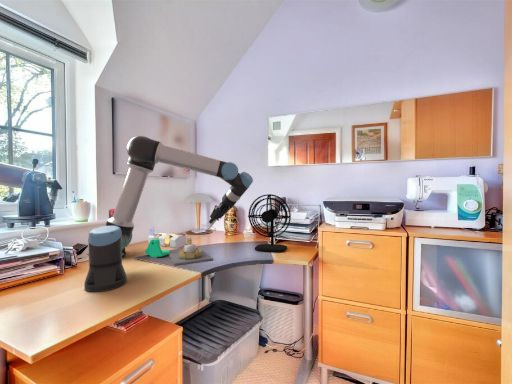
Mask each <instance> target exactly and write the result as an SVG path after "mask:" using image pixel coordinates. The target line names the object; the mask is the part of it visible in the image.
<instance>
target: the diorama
mask: <svg viewBox="0 0 512 384" xmlns="http://www.w3.org/2000/svg"><path fill="white" fill-rule="evenodd" d="M148 235H149V236H148V237H147V243H148V244H149V243H150V241H151V240H153V239H155V237H157V235H158V236H159V237H158V239H159V240H160V245H159V246H160V247H162V248H163V247H164V248H166V247H167V246H166V244H168V245H169V247H170V248H172V249H179V248H184V246H185V245H187V236H186V235H182V234H173V233H165V232H155V227H154V226H152V227H151V228H150V229H149V234H148Z"/></svg>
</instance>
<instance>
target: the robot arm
mask: <svg viewBox="0 0 512 384" xmlns="http://www.w3.org/2000/svg"><path fill="white" fill-rule="evenodd" d="M126 152H127V156H128V159H127V163H126V164H127V165H128V170H127V174H126V177H125V179H124V181H123V182H124V183H123V186H122V187H121V191H120V192H119V193H120V194H119V197H118V200H117V203H116V206H115V208H114V209H115V211H114V214H113V217H112V218H110V219H109V218H108V219H107V221H106V223H105V225H103V226H99V227H95V228H93V229H91V230H90V231H89V232H88V238H87V242H88V272H87V275H86V277H85V280H84V288H83V289H84V290H85V291H87V292H91V293H92V292H93V293H94V292H97V293H98V292H105V291H111V290H114V289H117V288H120V287H122V286H124V285H126V283H127V282H128V276H127V273H126V269H125V268H124V266H123V257H122V249H124V248H125V249H126V248H127V247H128V246H129V244H130V243H131V241H132V239H133V231H134V228H135V223H134V222H133V221H134V217H135V215H136V212H137V208H138V207H139V204H140V199H141V196H142V193H143V191H144V188H145V185H146V182H147V179H148V176H149V174H151V173H153V172H154V169H155V166H156V164H158V163H161V164H165V165H167V166H173V167H177V168H181V169H186V170H190V171H193V172H195V173H196V172H197V173H201V174H204V175H208V176H212V177H216V178H219V179H221V180H222V181H224V182H225V183H227V184H229V185H230V187H229V188H228V190H227V191H226V192H225V193H224V195H223V196H222V198H221V202H220V203H219V204H216V205H214V208H213V210H212V211H211V213H210V216H209V217H210V219H209V220H208V222H207V223H206V226H207V228H208V229H211V228H212V227H213V225H214V224H215V223H216V222H217V221H220V220H221V219H222V218H223V217H224V216H225V215H226V214H227V213H228V212H230V210H232V209H233V207H234V206H235V205H236V203H238V201H239V200H240V199H241V198H242V196H243V195H244V194H245V193H246V192H247V190H248V189H249V188H250V186H251V185H252V184H253V183H254V179H253V177H252V175H251V174H249V173H248V172H245V171H242V172H240V173H239V168H238V166H237V165H236V163H233V162H232V161H231V162H230V161H229V162H226V161H223V160H220V159H215V158H212V157H208V156H206V155H201V154H198V153H194V152H190V151H186V150H183V149H179V148H175V147H172V146H168V145H164V144H163V142H162V141H158V140H156V139H151V138H149V137H147V136H144V135H136V136H134V137H132V138H131V139H130V140H129V141H128V143H127V145H126Z"/></svg>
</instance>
